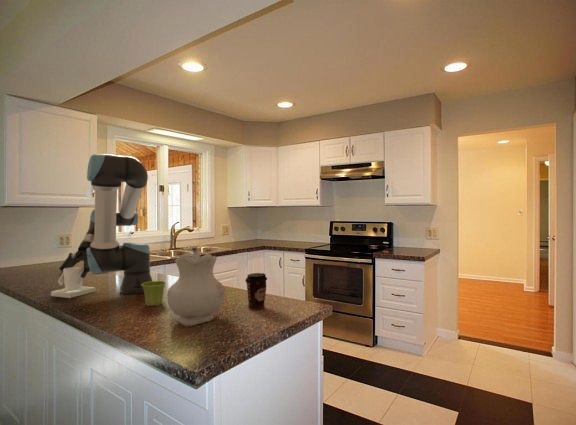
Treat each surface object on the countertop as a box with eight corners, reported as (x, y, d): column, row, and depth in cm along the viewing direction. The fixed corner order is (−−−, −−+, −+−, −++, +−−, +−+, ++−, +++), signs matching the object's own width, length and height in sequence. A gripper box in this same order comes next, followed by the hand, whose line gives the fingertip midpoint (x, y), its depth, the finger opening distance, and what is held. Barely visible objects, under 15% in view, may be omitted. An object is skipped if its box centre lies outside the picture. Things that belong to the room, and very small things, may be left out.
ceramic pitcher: (164, 317, 122) (157, 250, 121) (215, 305, 132) (209, 243, 130) (175, 336, 103) (167, 257, 102) (235, 320, 113) (228, 248, 111)
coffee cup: (271, 305, 131) (270, 273, 131) (263, 312, 123) (262, 277, 123) (251, 304, 134) (250, 272, 134) (242, 310, 126) (241, 276, 126)
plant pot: (171, 302, 138) (170, 281, 138) (153, 308, 130) (153, 286, 130) (154, 300, 142) (154, 280, 142) (136, 306, 134) (136, 284, 134)
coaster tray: (95, 291, 161) (95, 287, 161) (70, 298, 149) (70, 293, 149) (76, 289, 165) (76, 285, 165) (51, 296, 153) (51, 291, 153)
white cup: (73, 291, 152) (73, 269, 152) (59, 291, 154) (58, 269, 154) (87, 287, 160) (86, 267, 160) (73, 287, 162) (73, 266, 162)
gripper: (112, 249, 172) (94, 287, 156) (72, 249, 172) (51, 288, 156) (106, 240, 167) (86, 278, 151) (65, 240, 167) (42, 279, 151)
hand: (68, 283), depth 154 cm, fingers closed on white cup, 8 cm apart
